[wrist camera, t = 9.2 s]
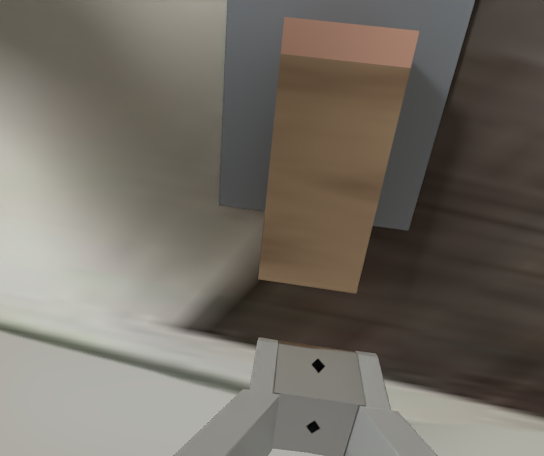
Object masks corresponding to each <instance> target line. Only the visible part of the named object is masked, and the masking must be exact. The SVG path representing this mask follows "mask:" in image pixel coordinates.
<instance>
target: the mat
mask: <svg viewBox="0 0 544 456" xmlns="http://www.w3.org/2000/svg"><path fill="white" fill-rule="evenodd" d="M474 2H475V0H227V24H226V49H225V74H224V99H223V123H222V148H221V173H220V197H219V205H222V206H229V207H237V208H244V209H251V210H259V211H265V206H266V196H267V186H268V176H269V166H270V156H271V146H272V136H273V126H274V116H275V106H276V96H277V86H278V76H279V66H280V56H281V46H282V36H283V25H284V17H290V18H300V19H309V20H319V21H329V22H338V23H348V24H358V25H367V26H377V27H387V28H396V29H406V30H416V31H419V36H418V40H417V44H416V48H415V52H414V56H413V60H412V65H411V69H410V73H409V77H408V81H407V85H406V89H405V94H404V98H403V102H402V106H401V110H400V114H399V118H398V123H397V127H396V131H395V135H394V139H393V143H392V147H391V152H390V156H389V160H388V164H387V168H386V172H385V176H384V181H383V185H382V189H381V193H380V197H379V201H378V205H377V210H376V214H375V218H374V222H373V226H378V227H385V228H392V229H400V230H407V231H408V230H409V227H410V224H411V220H412V217H413V213H414V210H415V206H416V203H417V199H418V196H419V192H420V189H421V186H422V182H423V179H424V175H425V172H426V168H427V165H428V161H429V158H430V154H431V151H432V148H433V144H434V141H435V137H436V134H437V130H438V127H439V123H440V120H441V116H442V113H443V110H444V106H445V103H446V99H447V96H448V92H449V89H450V85H451V82H452V78H453V75H454V71H455V68H456V65H457V61H458V58H459V54H460V51H461V47H462V44H463V40H464V37H465V33H466V30H467V27H468V23H469V20H470V16H471V13H472V9H473V6H474Z"/></svg>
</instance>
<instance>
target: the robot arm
mask: <svg viewBox="0 0 544 456" xmlns="http://www.w3.org/2000/svg"><path fill="white" fill-rule="evenodd" d="M272 448H274V449H282V450H291V451H300V452H308V453H313V454H318V455H324V456H437V455H436V453H435V452H434V451H433V450H432V449H431V448H430V447H429V446H428V445H427V443H425V441H424V440H423V439H422V438H421V437H420V436H419V435H418V434H417V432H416V431H415V430H414V429H413V428H412V427H411V426H410V425H409V424H408V422H407V421H406V420H405V419H404V418H403V417H402V416H401V415H400V414H399V413H398V411H392V410H391V408H390V404H389V400H388V396H387V392H386V388H385V384H384V379H383V375H382V371H381V367H380V363H379V359H378V356H377V355H376V354H375V353H368V352H360V351H350V350H343V349H335V348H327V347H319V346H312V345H306V344H300V343H293V342H287V341H281V340H279V342H278V340H272V339H266V338H260V337H259V339H258V342H257V347H256V353H255V359H254V365H253V370H252V376H251V382H250V388H249V390H246V389H243V390H242V391H241V392H240V393H239V394H237V395H236V396H235V397H234V399H232V400H231V401H230V402H229V403H228V404H227V405H226V406H225V407H224V408H223V409H222V410H221V411H220V412H219V413H218V414H217V415H215V416H214V417H213V418H212V419H211V420H210V421H209V422H208V423H207V424H206V425H205V426H204V427H203V428H202V429H201V430H200V431H199V432H198V433H197V434H196V435H195V436H194V437H192V438H191V439H190V440H189V441H188V442H187V443H186V444H185V445H184V446H183V447H182V448H181V449H180V450H179V451H178V452H177V453H176V454H175V455H174V456H268V455H269V453H270V452H271V450H272Z"/></svg>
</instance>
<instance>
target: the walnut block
mask: <svg viewBox="0 0 544 456" xmlns="http://www.w3.org/2000/svg"><path fill="white" fill-rule="evenodd" d="M418 36H419V31H416V30H406V29H396V28H387V27H377V26H367V25H358V24H348V23H338V22H329V21H319V20H309V19H300V18H290V17H284V25H283V36H282V46H281V56H280V66H279V76H278V86H277V96H276V106H275V116H274V126H273V136H272V146H271V156H270V166H269V176H268V186H267V196H266V206H265V216H264V226H263V236H262V246H261V256H260V266H259V276H258V279H260V280H267V281H274V282H281V283H287V284H294V285H301V286H308V287H315V288H322V289H329V290H335V291H342V292H349V293H356V292H357V288H358V284H359V280H360V276H361V272H362V268H363V263H364V259H365V255H366V251H367V247H368V243H369V239H370V234H371V230H372V226H373V222H374V218H375V214H376V210H377V205H378V201H379V197H380V193H381V189H382V185H383V181H384V176H385V172H386V168H387V164H388V160H389V156H390V152H391V147H392V143H393V139H394V135H395V131H396V127H397V123H398V118H399V114H400V110H401V106H402V102H403V98H404V94H405V89H406V85H407V81H408V77H409V73H410V69H411V65H412V60H413V56H414V52H415V48H416V44H417V40H418Z"/></svg>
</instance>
